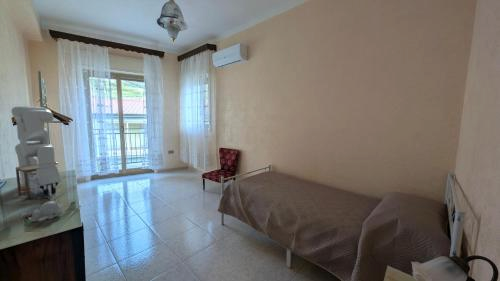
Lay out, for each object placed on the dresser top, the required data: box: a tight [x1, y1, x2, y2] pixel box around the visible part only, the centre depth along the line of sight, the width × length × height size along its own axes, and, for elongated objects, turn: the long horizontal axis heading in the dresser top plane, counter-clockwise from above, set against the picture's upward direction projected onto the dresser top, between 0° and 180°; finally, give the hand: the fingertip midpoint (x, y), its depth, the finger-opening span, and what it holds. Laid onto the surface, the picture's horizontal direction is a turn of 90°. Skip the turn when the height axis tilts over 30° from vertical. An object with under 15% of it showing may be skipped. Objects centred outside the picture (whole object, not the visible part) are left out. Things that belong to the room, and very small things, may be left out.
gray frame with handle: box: [29, 184, 53, 200], centre depth 137 cm, size 19×10×10 cm, turn 62°
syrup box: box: [29, 173, 43, 194], centre depth 139 cm, size 6×6×14 cm
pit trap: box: [16, 187, 31, 195], centre depth 147 cm, size 10×10×2 cm
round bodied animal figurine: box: [27, 200, 63, 223], centre depth 108 cm, size 7×12×8 cm, turn 127°
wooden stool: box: [15, 163, 57, 200], centre depth 140 cm, size 14×14×18 cm
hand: (49, 194), depth 133 cm, fingers closed on gray frame with handle, 2 cm apart
